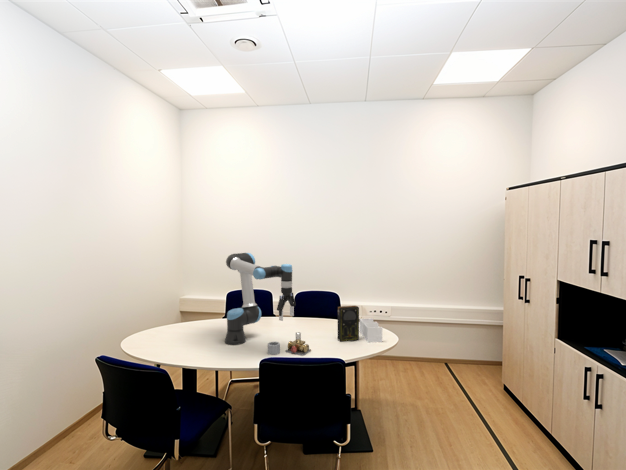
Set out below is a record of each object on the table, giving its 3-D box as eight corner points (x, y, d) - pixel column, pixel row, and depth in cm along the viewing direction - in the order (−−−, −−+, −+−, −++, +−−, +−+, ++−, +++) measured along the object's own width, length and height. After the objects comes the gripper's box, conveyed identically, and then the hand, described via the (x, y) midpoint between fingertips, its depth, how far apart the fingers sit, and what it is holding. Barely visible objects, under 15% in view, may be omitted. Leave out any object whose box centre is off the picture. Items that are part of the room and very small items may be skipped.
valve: (284, 352, 233) (284, 333, 233) (293, 347, 242) (293, 329, 242) (302, 356, 226) (302, 337, 226) (310, 350, 235) (310, 332, 235)
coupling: (265, 353, 231) (265, 344, 231) (272, 349, 238) (272, 340, 238) (275, 355, 227) (275, 346, 227) (282, 351, 234) (282, 342, 234)
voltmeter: (340, 342, 252) (340, 308, 252) (336, 338, 261) (336, 305, 260) (360, 340, 256) (360, 307, 256) (355, 337, 265) (355, 304, 264)
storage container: (359, 332, 278) (359, 318, 277) (372, 331, 279) (372, 318, 278) (367, 342, 253) (367, 327, 252) (382, 342, 254) (382, 327, 254)
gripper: (281, 290, 223) (281, 323, 224) (300, 284, 245) (300, 314, 246) (271, 289, 227) (271, 321, 227) (291, 283, 249) (291, 313, 249)
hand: (286, 318), depth 237 cm, fingers open, 13 cm apart
